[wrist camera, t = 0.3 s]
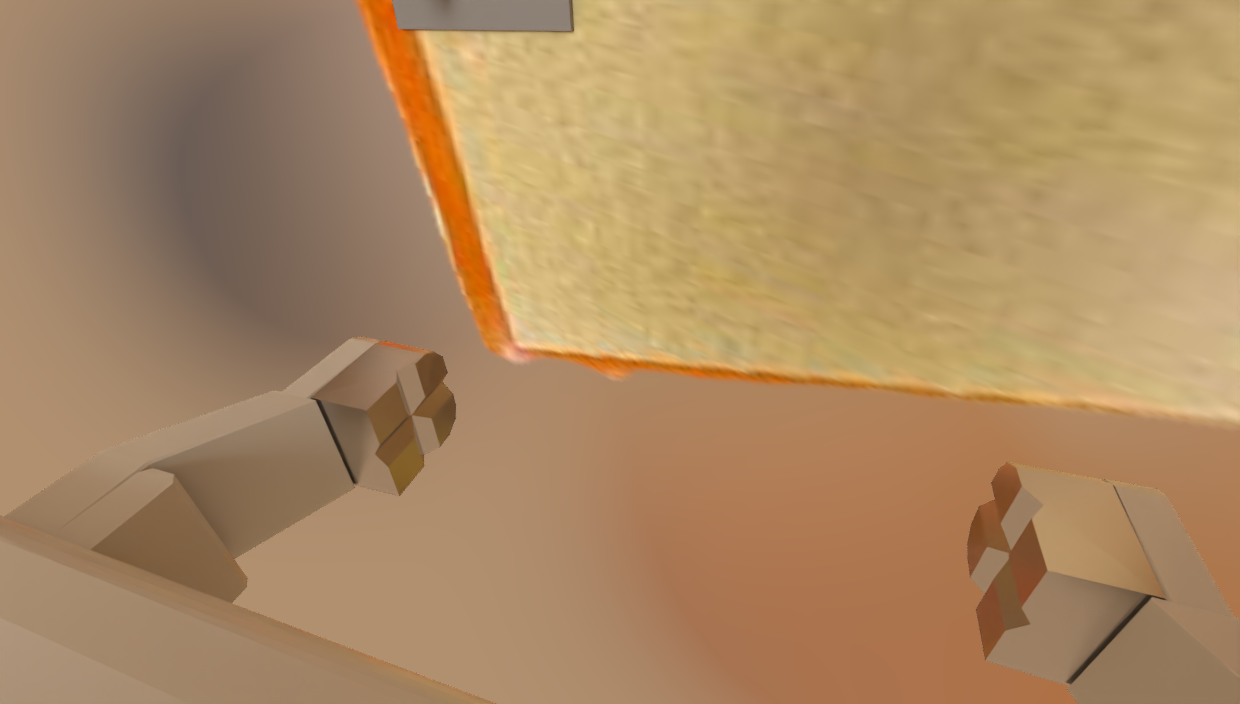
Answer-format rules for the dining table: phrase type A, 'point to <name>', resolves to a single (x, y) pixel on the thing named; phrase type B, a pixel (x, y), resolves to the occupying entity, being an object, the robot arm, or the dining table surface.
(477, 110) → the dining table surface
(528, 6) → the mat
